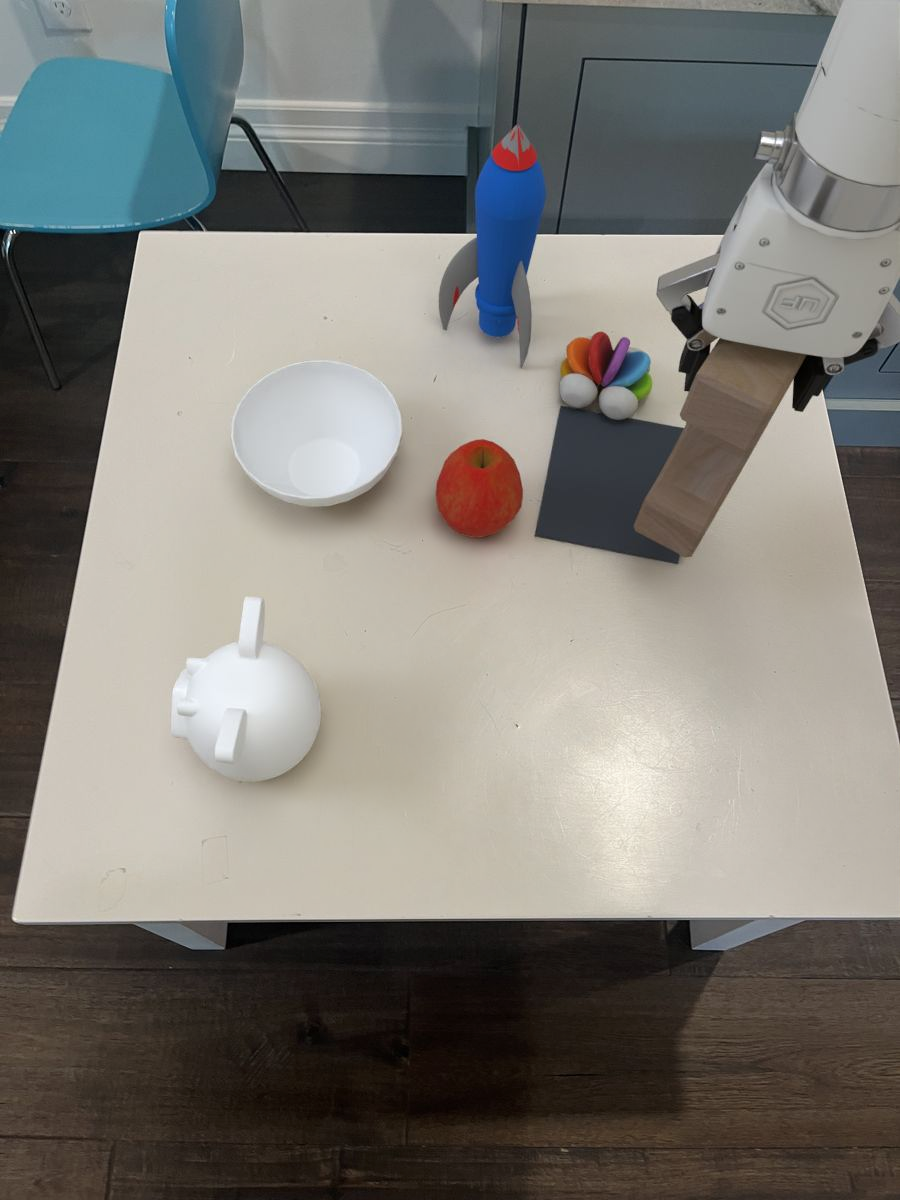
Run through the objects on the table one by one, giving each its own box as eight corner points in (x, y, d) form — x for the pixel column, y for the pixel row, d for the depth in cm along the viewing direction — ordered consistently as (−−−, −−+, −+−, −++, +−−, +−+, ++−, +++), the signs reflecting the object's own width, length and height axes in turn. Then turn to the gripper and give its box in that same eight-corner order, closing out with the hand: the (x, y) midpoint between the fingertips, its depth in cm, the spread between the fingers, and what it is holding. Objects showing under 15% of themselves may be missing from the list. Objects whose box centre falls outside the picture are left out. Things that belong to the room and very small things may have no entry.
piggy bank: (184, 684, 78) (133, 613, 64) (315, 657, 79) (292, 582, 66) (199, 821, 73) (147, 775, 59) (338, 790, 74) (319, 739, 61)
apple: (534, 528, 86) (548, 465, 76) (463, 566, 84) (468, 507, 74) (488, 468, 89) (496, 400, 79) (419, 504, 87) (418, 439, 77)
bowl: (212, 460, 88) (196, 417, 82) (338, 380, 93) (332, 333, 87) (308, 567, 83) (299, 530, 77) (436, 477, 88) (437, 435, 82)
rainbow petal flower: (570, 350, 96) (581, 298, 89) (656, 376, 94) (673, 325, 88) (546, 405, 92) (556, 355, 85) (635, 433, 90) (652, 384, 84)
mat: (692, 432, 91) (693, 429, 91) (677, 564, 84) (679, 562, 84) (560, 407, 92) (560, 405, 92) (534, 536, 85) (535, 534, 85)
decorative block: (688, 562, 74) (772, 412, 56) (628, 529, 75) (692, 372, 57) (743, 471, 78) (839, 305, 60) (686, 442, 79) (763, 270, 61)
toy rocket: (526, 373, 94) (558, 169, 72) (437, 371, 94) (441, 166, 71) (523, 298, 99) (553, 84, 76) (438, 295, 99) (442, 80, 76)
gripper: (683, 189, 46) (616, 405, 62) (1023, 245, 45) (866, 450, 61) (695, 98, 49) (629, 326, 65) (1013, 148, 48) (866, 367, 64)
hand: (744, 385), depth 63 cm, fingers closed on decorative block, 7 cm apart
